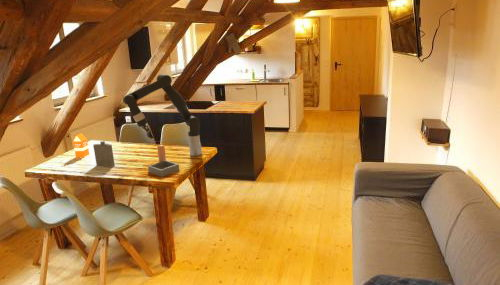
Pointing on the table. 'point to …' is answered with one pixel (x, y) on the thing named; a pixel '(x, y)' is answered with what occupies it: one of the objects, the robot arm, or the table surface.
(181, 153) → the table surface
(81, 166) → the table surface
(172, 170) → the tote
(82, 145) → the orange juice
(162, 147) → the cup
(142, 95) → the robot arm
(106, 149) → the hip flask
